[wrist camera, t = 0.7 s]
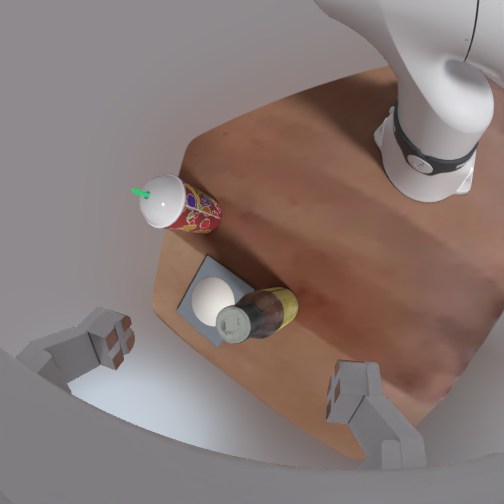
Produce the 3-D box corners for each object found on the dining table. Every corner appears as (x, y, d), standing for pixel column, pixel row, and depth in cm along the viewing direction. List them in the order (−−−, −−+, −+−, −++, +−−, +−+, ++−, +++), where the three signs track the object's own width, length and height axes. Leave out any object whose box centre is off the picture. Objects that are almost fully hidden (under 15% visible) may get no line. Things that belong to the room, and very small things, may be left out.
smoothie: (231, 195, 53) (161, 157, 34) (225, 240, 52) (150, 222, 34) (193, 195, 56) (119, 164, 38) (188, 237, 56) (109, 220, 37)
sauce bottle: (259, 314, 49) (193, 334, 31) (272, 280, 48) (212, 283, 30) (293, 330, 46) (243, 364, 28) (308, 296, 46) (266, 310, 28)
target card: (209, 255, 53) (207, 255, 53) (255, 289, 49) (254, 289, 49) (178, 311, 55) (176, 311, 55) (219, 346, 51) (217, 347, 51)
